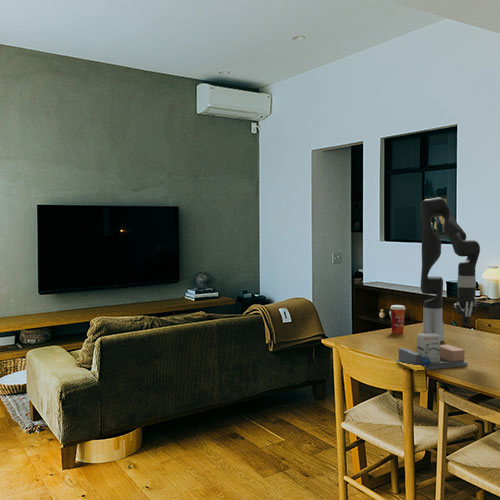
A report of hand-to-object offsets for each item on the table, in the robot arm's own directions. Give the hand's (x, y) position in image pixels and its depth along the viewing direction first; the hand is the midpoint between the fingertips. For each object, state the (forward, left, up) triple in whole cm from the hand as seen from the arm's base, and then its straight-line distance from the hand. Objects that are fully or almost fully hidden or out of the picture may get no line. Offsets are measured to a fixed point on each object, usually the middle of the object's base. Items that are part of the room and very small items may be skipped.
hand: (466, 324), depth 227 cm
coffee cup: (-5, -59, -16) cm, 61 cm away
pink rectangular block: (+8, 0, -14) cm, 17 cm away
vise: (+18, 0, -16) cm, 24 cm away
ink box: (+19, 0, -15) cm, 24 cm away
